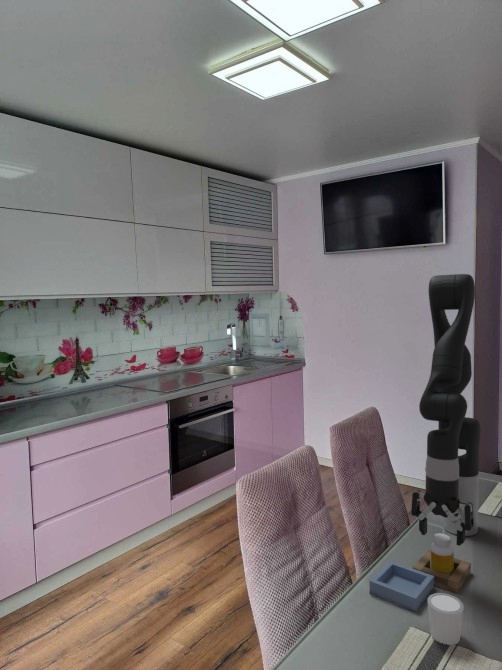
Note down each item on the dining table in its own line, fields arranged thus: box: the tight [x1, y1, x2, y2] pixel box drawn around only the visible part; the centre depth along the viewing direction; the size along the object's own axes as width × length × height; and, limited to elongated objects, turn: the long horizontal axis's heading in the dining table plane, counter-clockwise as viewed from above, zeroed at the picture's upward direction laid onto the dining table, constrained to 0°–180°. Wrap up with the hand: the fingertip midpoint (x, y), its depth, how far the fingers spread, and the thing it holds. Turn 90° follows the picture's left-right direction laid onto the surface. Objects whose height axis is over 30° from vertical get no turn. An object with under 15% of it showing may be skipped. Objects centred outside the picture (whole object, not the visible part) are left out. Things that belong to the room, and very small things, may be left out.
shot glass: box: [427, 592, 464, 646], centre depth 101 cm, size 7×7×7 cm
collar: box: [411, 549, 472, 594], centre depth 122 cm, size 10×10×2 cm
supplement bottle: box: [429, 533, 455, 576], centre depth 122 cm, size 5×5×10 cm
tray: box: [369, 560, 435, 612], centre depth 116 cm, size 11×11×3 cm
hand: (441, 539), depth 121 cm, fingers open, 8 cm apart
